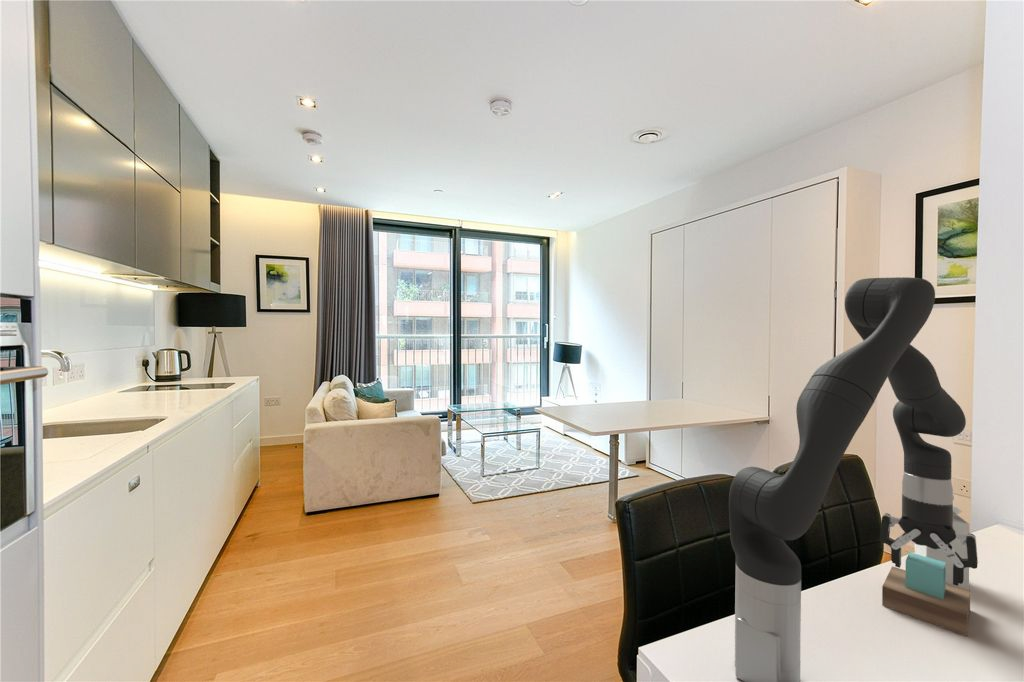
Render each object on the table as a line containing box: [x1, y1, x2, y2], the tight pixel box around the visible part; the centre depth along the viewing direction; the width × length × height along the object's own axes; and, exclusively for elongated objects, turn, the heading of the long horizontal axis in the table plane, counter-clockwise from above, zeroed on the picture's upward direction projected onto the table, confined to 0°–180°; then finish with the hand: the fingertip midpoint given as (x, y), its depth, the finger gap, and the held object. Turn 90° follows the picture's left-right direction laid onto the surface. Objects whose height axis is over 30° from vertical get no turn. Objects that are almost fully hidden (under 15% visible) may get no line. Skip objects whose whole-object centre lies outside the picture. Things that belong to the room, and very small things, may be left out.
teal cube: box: [905, 551, 946, 599], centre depth 87 cm, size 6×6×6 cm
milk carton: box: [914, 504, 970, 590], centre depth 97 cm, size 7×7×19 cm
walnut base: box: [881, 566, 971, 637], centre depth 87 cm, size 12×12×4 cm
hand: (926, 574), depth 87 cm, fingers open, 8 cm apart
